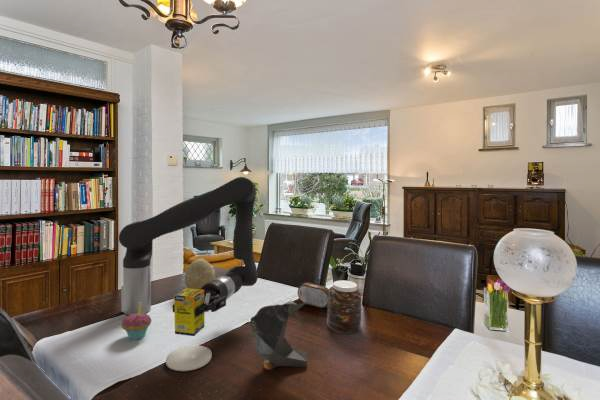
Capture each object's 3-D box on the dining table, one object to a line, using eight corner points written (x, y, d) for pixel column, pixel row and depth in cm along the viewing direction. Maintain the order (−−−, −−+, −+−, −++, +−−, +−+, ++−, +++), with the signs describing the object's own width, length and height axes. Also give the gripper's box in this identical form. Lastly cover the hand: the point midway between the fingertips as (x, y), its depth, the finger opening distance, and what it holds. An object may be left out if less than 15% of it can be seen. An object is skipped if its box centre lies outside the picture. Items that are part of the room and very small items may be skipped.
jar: (364, 323, 121) (366, 282, 120) (355, 337, 111) (357, 291, 110) (333, 317, 126) (334, 277, 125) (321, 329, 116) (322, 286, 115)
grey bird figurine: (255, 349, 101) (255, 290, 100) (306, 351, 101) (308, 291, 100) (246, 378, 87) (247, 309, 86) (306, 380, 87) (308, 311, 86)
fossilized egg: (192, 287, 156) (192, 255, 155) (219, 289, 154) (219, 256, 153) (179, 297, 143) (179, 261, 142) (208, 299, 141) (208, 263, 140)
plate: (156, 367, 91) (156, 362, 91) (184, 346, 102) (184, 342, 102) (194, 376, 87) (194, 371, 87) (219, 353, 99) (219, 349, 99)
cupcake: (157, 332, 111) (157, 296, 110) (136, 344, 103) (136, 305, 102) (136, 328, 113) (136, 293, 113) (114, 339, 105) (114, 301, 105)
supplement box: (194, 336, 91) (194, 296, 90) (174, 334, 92) (173, 294, 91) (205, 327, 97) (204, 289, 96) (186, 324, 98) (185, 287, 97)
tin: (332, 308, 135) (333, 287, 134) (328, 311, 132) (329, 289, 132) (300, 300, 143) (300, 280, 142) (296, 302, 140) (296, 282, 140)
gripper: (198, 276, 109) (162, 294, 94) (238, 281, 105) (207, 300, 89) (198, 299, 110) (162, 320, 94) (238, 305, 105) (207, 328, 90)
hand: (184, 310), depth 92 cm, fingers closed on supplement box, 6 cm apart
